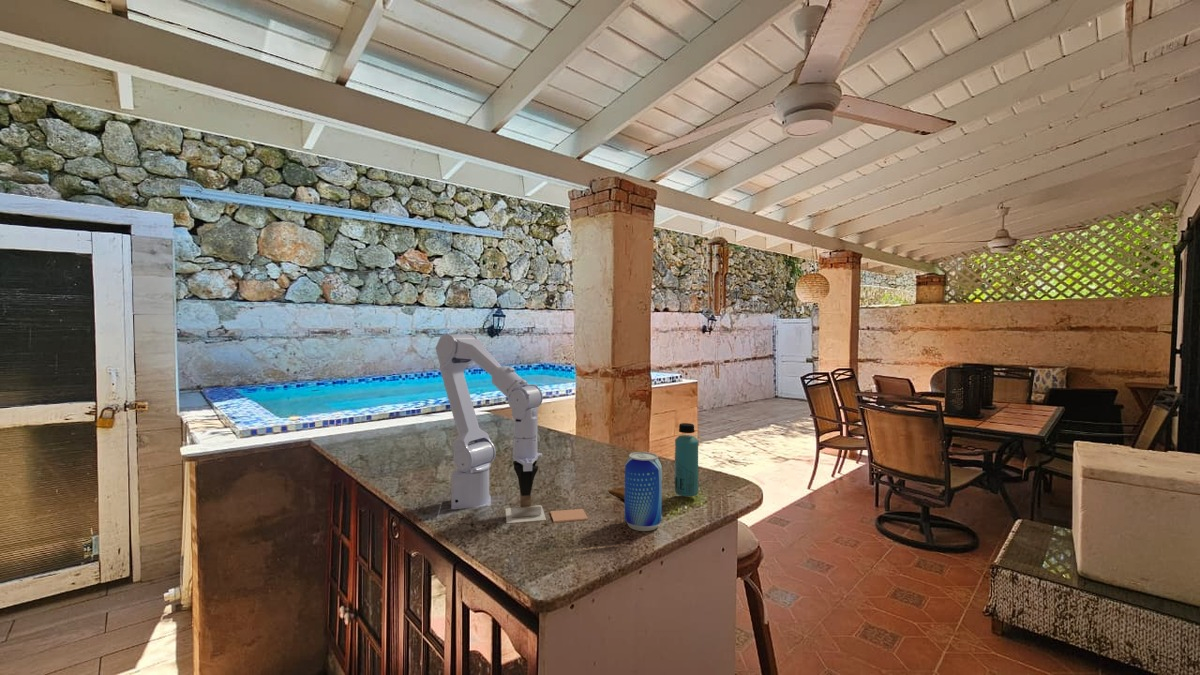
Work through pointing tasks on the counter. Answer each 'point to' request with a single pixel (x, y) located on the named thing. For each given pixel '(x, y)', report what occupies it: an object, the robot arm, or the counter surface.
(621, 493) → the primitive tool
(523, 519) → the mat
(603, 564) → the counter surface
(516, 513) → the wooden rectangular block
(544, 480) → the counter surface
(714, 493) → the counter surface
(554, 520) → the tile
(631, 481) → the beer can
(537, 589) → the counter surface
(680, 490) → the beverage bottle
